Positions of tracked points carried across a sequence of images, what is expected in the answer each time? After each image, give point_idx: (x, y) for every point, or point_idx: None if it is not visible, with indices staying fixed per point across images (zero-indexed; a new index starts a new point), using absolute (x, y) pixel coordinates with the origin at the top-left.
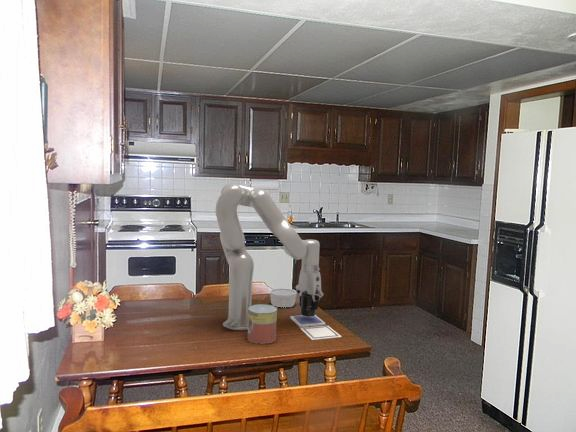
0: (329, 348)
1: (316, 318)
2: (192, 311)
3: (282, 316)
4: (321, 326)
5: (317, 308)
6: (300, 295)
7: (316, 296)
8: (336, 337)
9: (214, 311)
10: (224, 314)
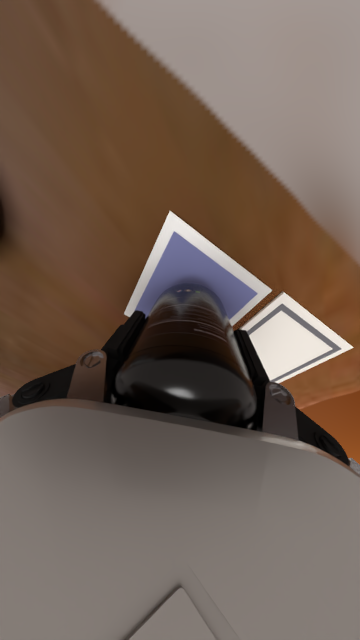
0: (315, 398)
1: (213, 270)
2: (7, 386)
3: (100, 313)
4: (260, 316)
5: (245, 331)
6: (109, 394)
7: (272, 427)
8: (331, 356)
9: (12, 372)
10: (37, 373)
